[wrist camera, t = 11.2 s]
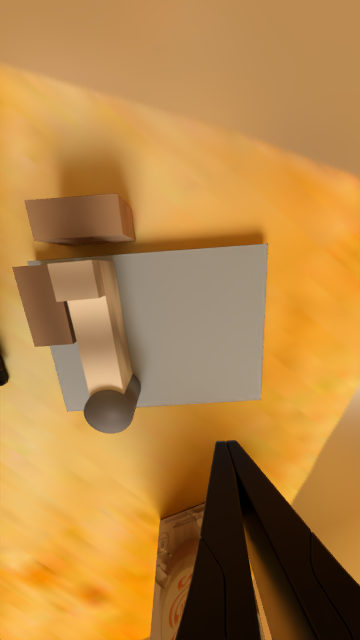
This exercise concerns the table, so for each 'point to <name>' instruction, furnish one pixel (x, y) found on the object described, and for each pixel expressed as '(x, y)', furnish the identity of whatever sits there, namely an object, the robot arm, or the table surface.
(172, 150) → the table surface
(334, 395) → the table surface
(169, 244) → the table surface
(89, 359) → the leg
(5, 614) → the table surface
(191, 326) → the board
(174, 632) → the coffee box
